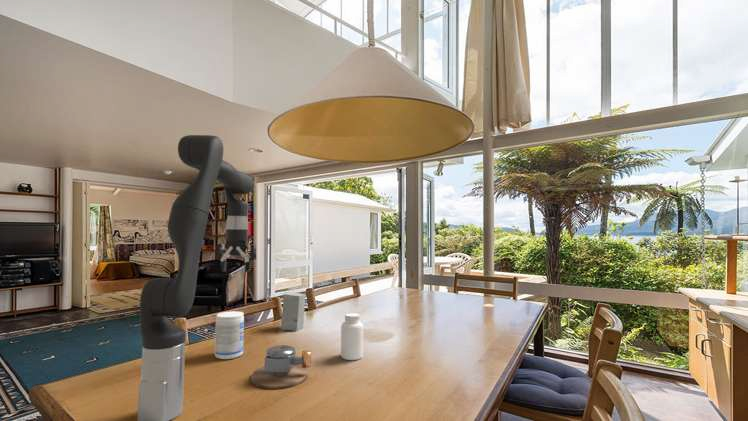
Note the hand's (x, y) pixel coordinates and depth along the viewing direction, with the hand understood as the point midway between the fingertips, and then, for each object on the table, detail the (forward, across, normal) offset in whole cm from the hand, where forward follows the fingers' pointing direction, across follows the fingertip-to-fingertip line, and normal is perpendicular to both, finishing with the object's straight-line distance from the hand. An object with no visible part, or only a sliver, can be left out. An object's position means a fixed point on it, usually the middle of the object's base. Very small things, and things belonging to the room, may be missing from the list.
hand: (235, 271), depth 135 cm
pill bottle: (+30, +44, -3) cm, 53 cm away
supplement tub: (+30, 0, -4) cm, 30 cm away
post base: (+29, +23, -22) cm, 43 cm away
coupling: (+26, +26, -22) cm, 43 cm away
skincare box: (+30, +15, +31) cm, 45 cm away
